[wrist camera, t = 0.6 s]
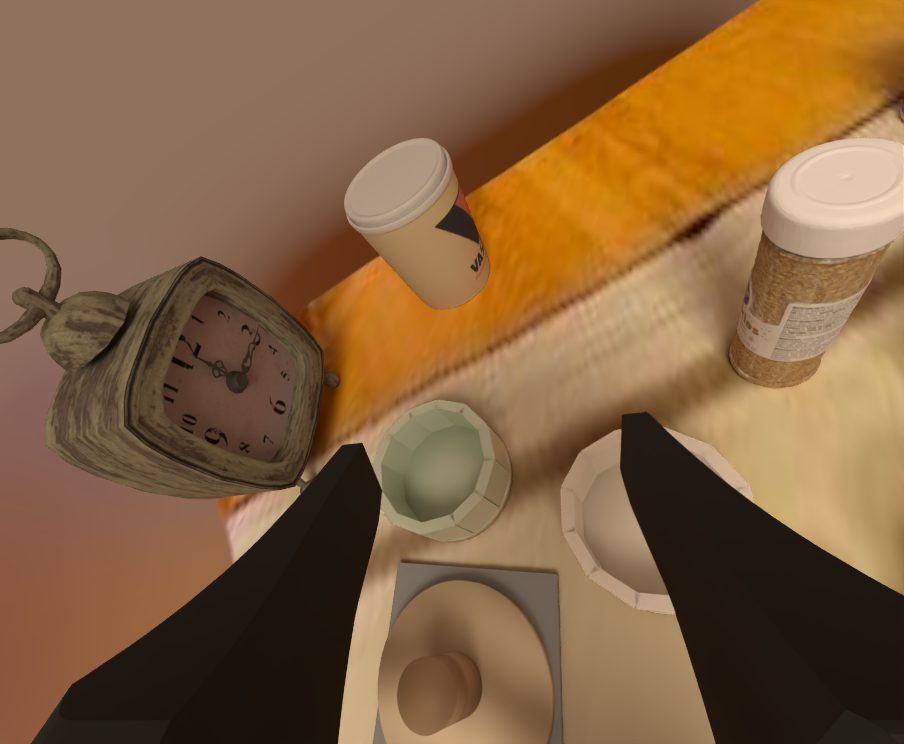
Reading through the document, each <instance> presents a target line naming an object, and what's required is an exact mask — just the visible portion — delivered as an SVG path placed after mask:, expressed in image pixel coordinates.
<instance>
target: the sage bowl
mask: <svg viewBox="0 0 904 744" xmlns="http://www.w3.org/2000/svg"><path fill="white" fill-rule="evenodd" d="M386 433H387V434H386ZM386 433H385V435H384V437H383V440H382V442H381V445H380V447H379V449H378V452H377V454H376V457H375V459H374V462H373V470H374V472H375V474H376V477H377V479H378V481H379V484H380V486H381V489H382V498H381V509H382V510H383V512H384V514H385V515H386V517H387V518H388V520H389V521H390V523H391V524H394V525H396V526H399V527H401V528H404V529H407V530H409V531H412V532H415V533H417V534H420V535H423V536H426V537H428V538H431V539H434V540H437V541H440V542H460V541H465V540H468V539H471V538H473V537H475V536H477V535H479V534H480V533H482V532H483V531H485V530H486V529H487V528H488V527H489V526H490V525H492V524H493V523H494V521H495V520H496V519H497V518H498V517H499V515H500V514H501V512H502V510H503V509H504V507H505V505H506V503H507V500H508V497H509V494H510V490H511V486H512V465H511V460H510V456H509V453H508V451H507V449H506V447H505V445H504V443H503V441H502V440H501V439H500V438H499V437H498V436H497V435H496V433H495V432H494V431H493V430H492V429H491V428H490V427H489V426H488V425H487V424H486V423H485V422H484V421H483V420H482V419H481V418H480V417H479V416H478V415H477V414H476V413H475V412H474V411H473V410H472V409H471V408H470V407H469V406H468V405H467V404H463V403H457V402H451V401H445V400H439V399H438V400H437V399H436V400H434V401H431V402H428V403H425V404H423V405H420V406H417V407H415V408H412V409H409V410H408V411H407V412H406V413H405V414H404V415H403V416H402V417H401V418H400V419H399V420H398V421H397V422H396V423H395V424H394V425H393V426H392V427H391V428H390V429H389V430H388V431H387V432H386Z"/></svg>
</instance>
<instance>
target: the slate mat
mask: <svg viewBox="0 0 904 744" xmlns="http://www.w3.org/2000/svg"><path fill="white" fill-rule="evenodd" d="M454 580H464V581H470V582H476V583H481V584H484V585H487V586H490V587H492V588H494V589H496V590H498V591H500V592H501V593H503V594H504V595H506V596H507V597H509V598H510V599H511V600H512V601H513V602H514V603H515V604H516V605H518V606H519V608H520V609H521V610H522V611H523V612H524V613H525V615H526V616H527V617H528V619H529V620H530V622H531V623H532V625H533V626H534V628H535V629H536V631H537V633H538V635H539V637H540V639H541V641H542V644H543V646H544V649H545V651H546V654H547V657H548V661H549V664H550V668H551V673H552V678H553V684H554V698H555V707H554V722H553V729H552V734H551V738H550V742H549V744H563V717H562V682H561V647H560V611H559V576H558V574H548V573H534V572H521V571H508V570H494V569H481V568H468V567H454V566H441V565H428V564H414V563H401V562H399V563H398V570H397V577H396V584H395V591H394V598H393V605H392V613H391V620H390V627H389V633H390V631H391V629H392V627H393V625H394V623H395V621H396V619H397V618H398V617H399V615H400V614H401V612H402V611H403V609H404V608H405V607H406V606H407V605H408V604H409V602H411V601H412V600H413V599H414V598H415V597H416V596H417V595H419V594H420V593H421V592H423V591H424V590H426V589H428V588H430V587H432V586H434V585H436V584H439V583H443V582H447V581H454ZM388 635H389V634H388ZM373 744H386V741H385V738H384V734H383V730H382V727H381V721H380V715H379V706H378V711H377V718H376V726H375V733H374V740H373Z"/></svg>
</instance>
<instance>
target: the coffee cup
mask: <svg viewBox="0 0 904 744" xmlns="http://www.w3.org/2000/svg"><path fill="white" fill-rule="evenodd" d="M344 206H345V211H346V215H347V219H348V221H349V223H350V224H351V225H352V226H353V227H354V228H355V229H356V230H357V231H358V232H360V233H361V234H362V235H363V237H364V238H365V239H366V240H367V241H368V242H369V243H370V244H371V245H372V247H373V248H374V249H375V250H376V251H377V252H378V253H379V254H380V256H381V257H382V258H383V259H384V260H385V261H386V262H387V263H388V264H389V265H390V266H391V267H392V269H393V270H394V271H395V272H396V273H397V274H398V275H399V276H400V277H401V278H402V279H403V281H404V282H405V283H406V284H407V285H408V286H409V287H410V288H411V289H412V290H413V291H414V292H415V293H416V295H417V296H418V297H419V298H420V299H421V300H422V301H423V302H424V303H425V304H427V305H428V306H430V307H432V308H435V309H450V308H454V307H457V306H460V305H462V304H464V303H466V302H467V301H469V300H471V299H472V298H473V297H474V296H475V295H477V294H478V293H479V291H480V290H481V289H482V288H483V286H484V285H485V283H486V281H487V279H488V276H489V271H490V265H489V260H488V257H487V254H486V252H485V249H484V246H483V244H482V241H481V238H480V236H479V233H478V231H477V228H476V226H475V223H474V221H473V218H472V215H471V213H470V210H469V208H468V205H467V203H466V200H465V197H464V195H463V193H462V190H461V188H460V185H459V183H458V180H457V178H456V176H455V173H454V171H453V168H452V162H451V159H450V156H449V154H448V152H447V151H446V150H445V149H444V148H443V147H442V146H440V145H439V144H438V143H436V142H435V141H433V140H431V139H426V138H417V139H412V140H407V141H404V142H402V143H399V144H397V145H395V146H393V147H391V148H389V149H387V150H385V151H384V152H382V153H381V154H379V155H378V156H376V157H375V158H374V159H372V160H371V161H370V162H369V163H368V164H367V165H366V166H365V167H364V168H362V169H361V171H360V172H359V173H358V174H357V175H356V176H355V178H354V179H353V181H352V183H351V184H350V186H349V188H348V190H347V192H346V195H345V200H344Z"/></svg>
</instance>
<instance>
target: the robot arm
mask: <svg viewBox="0 0 904 744" xmlns="http://www.w3.org/2000/svg"><path fill="white" fill-rule="evenodd" d="M620 472H621V475H622V479H623V482H624V486H625V489H626V492H627V496H628V499H629V502H630V505H631V508H632V510H633V512H634V515H635V517H636V520H637V522H638V524H639V527H640V529H641V531H642V534H643V536H644V538H645V541H646V543H647V545H648V547H649V550H650V552H651V554H652V557H653V559H654V561H655V564H656V566H657V568H658V571H659V573H660V575H661V577H662V580H663V582H664V584H665V587H666V589H667V592H668V594H669V597H670V600H671V602H672V605H673V608H674V611H675V614H676V617H677V620H678V623H679V626H680V629H681V632H682V635H683V638H684V641H685V644H686V647H687V650H688V653H689V657H690V660H691V663H692V666H693V669H694V673H695V676H696V679H697V682H698V685H699V689H700V692H701V695H702V698H703V702H704V705H705V709H706V712H707V715H708V719H709V722H710V725H711V729H712V732H713V736H714V739H715V742H716V744H904V596H903V595H902V594H900V593H898V592H896V591H894V590H892V589H890V588H889V587H887V586H885V585H883V584H881V583H880V582H878V581H876V580H874V579H872V578H871V577H869V576H867V575H865V574H864V573H862V572H860V571H859V570H857V569H855V568H854V567H852V566H850V565H848V564H847V563H845V562H843V561H842V560H840V559H838V558H837V557H835V556H833V555H832V554H830V553H828V552H826V551H825V550H823V549H821V548H820V547H818V546H817V545H815V544H813V543H812V542H810V541H809V540H807V539H805V538H804V537H802V536H801V535H799V534H798V533H796V532H795V531H793V530H792V529H790V528H789V527H787V526H786V525H784V524H783V523H781V522H780V521H778V520H777V519H775V518H774V517H772V516H771V515H770V514H768V513H767V512H765V511H764V510H763V509H761V508H760V507H758V506H757V505H756V504H754V503H753V502H752V501H750V500H749V499H748V498H746V497H745V496H744V495H742V494H741V493H740V492H738V491H737V490H736V489H735V488H733V487H732V486H731V485H729V484H728V483H727V482H726V481H724V480H723V479H722V478H721V477H719V476H718V475H717V474H716V473H715V472H713V471H712V470H711V469H710V468H709V467H707V466H706V465H705V464H704V463H703V462H702V461H700V460H699V459H698V458H697V457H696V456H694V455H693V454H692V453H691V452H690V451H689V450H688V449H687V448H685V447H684V446H683V445H682V444H681V443H680V442H679V441H678V440H677V439H676V438H674V437H673V436H672V435H671V434H670V433H669V432H668V431H667V430H666V429H665V428H664V427H663V426H662V425H660V424H659V423H658V422H657V421H656V420H655V419H654V418H653V417H652V416H651V415H650V414H648V413H647V412H643V413H634V414H624V415H622V429H621V452H620ZM381 498H382V489H381V486H380V484H379V481H378V479H377V477H376V474H375V472H374V470H373V467H372V465H371V462H370V460H369V458H368V455H367V453H366V451H365V448H364V446H363V444H362V443H357V444H348V445H342V446H341V447H340V448H339V450H338V451H337V452H336V453H335V454H334V455H333V457H332V458H331V459H330V460H329V461H328V463H327V464H326V465H325V466H324V467H323V469H322V470H321V471H320V472H319V473H318V475H317V476H316V477H315V478H314V479H313V481H312V482H311V483H310V484H309V485H308V486H307V488H306V489H305V490H304V491H303V492H302V493H301V495H300V496H299V497H298V498H297V499H296V500H295V502H294V503H293V504H292V505H291V506H290V507H289V508H288V509H287V510H286V511H285V512H284V514H283V515H282V516H281V517H280V518H279V519H278V520H277V521H276V522H275V523H274V524H273V525H272V527H271V528H270V529H269V530H268V531H267V532H266V533H265V534H264V535H263V536H262V537H261V538H260V539H259V540H258V541H257V542H256V543H255V544H254V545H253V546H252V547H251V548H250V549H249V550H248V551H247V552H246V553H245V554H244V555H242V556H241V557H240V558H239V559H238V560H237V561H236V562H235V563H234V564H233V565H232V566H231V567H230V568H228V569H227V570H226V571H225V572H224V573H223V574H222V575H220V576H219V577H218V578H217V579H216V580H214V581H213V582H212V583H211V584H210V585H208V586H207V587H206V588H205V589H204V590H203V591H201V592H200V593H199V594H198V595H196V596H195V597H194V598H193V599H192V600H191V601H189V602H188V603H187V604H186V605H184V606H183V607H182V608H180V609H179V610H178V611H177V612H175V613H174V614H173V615H171V616H170V617H169V618H167V619H166V620H165V621H163V622H162V623H161V624H159V625H158V626H157V627H155V628H154V629H153V630H151V631H150V632H149V633H147V634H146V635H144V636H143V637H142V638H140V639H139V640H137V641H136V642H135V643H133V644H132V645H131V646H129V647H128V648H126V649H125V650H123V651H122V652H120V653H119V654H117V655H116V656H114V657H113V658H111V659H110V660H108V661H107V662H105V663H104V664H102V665H101V666H99V667H98V668H97V669H95V670H93V671H92V672H90V673H89V674H87V675H86V676H84V677H83V678H82V679H80V680H78V681H77V682H75V683H74V684H72V685H71V687H70V688H69V689H68V691H67V692H66V694H65V695H64V697H63V698H62V700H61V701H60V703H59V704H58V705H57V707H56V708H55V710H54V711H53V713H52V714H51V715H50V717H49V718H48V720H47V721H46V723H45V724H44V726H43V727H42V728H41V730H40V731H39V733H38V734H37V736H36V737H35V738H34V740H33V741H32V743H31V744H338V737H339V728H340V719H341V710H342V701H343V694H344V686H345V679H346V672H347V665H348V657H349V651H350V645H351V639H352V632H353V626H354V620H355V615H356V610H357V606H358V601H359V597H360V594H361V590H362V586H363V582H364V578H365V574H366V570H367V566H368V563H369V559H370V555H371V551H372V547H373V543H374V539H375V535H376V531H377V527H378V522H379V514H380V507H381Z"/></svg>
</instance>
